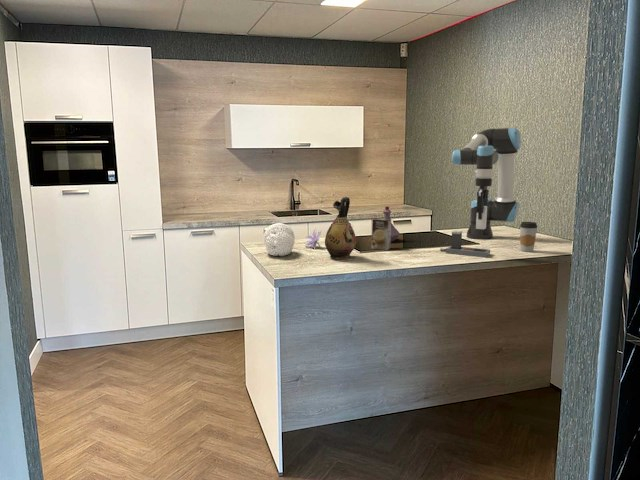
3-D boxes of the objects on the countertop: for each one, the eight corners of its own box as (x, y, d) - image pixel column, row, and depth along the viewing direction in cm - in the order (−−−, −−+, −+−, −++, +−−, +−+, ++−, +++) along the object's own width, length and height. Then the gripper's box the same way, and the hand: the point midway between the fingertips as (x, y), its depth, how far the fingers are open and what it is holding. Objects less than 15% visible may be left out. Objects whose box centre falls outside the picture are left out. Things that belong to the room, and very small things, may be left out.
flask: (405, 242, 291) (406, 207, 287) (378, 243, 287) (378, 208, 283) (394, 237, 306) (394, 204, 303) (368, 238, 302) (368, 205, 299)
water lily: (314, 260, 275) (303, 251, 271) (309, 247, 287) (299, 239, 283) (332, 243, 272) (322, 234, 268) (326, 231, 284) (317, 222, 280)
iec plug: (477, 227, 253) (479, 205, 251) (486, 228, 251) (487, 206, 249) (475, 228, 250) (477, 206, 248) (484, 229, 248) (485, 206, 246)
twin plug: (453, 251, 262) (454, 230, 260) (460, 252, 260) (461, 231, 258) (450, 252, 258) (451, 231, 256) (458, 253, 256) (459, 232, 254)
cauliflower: (256, 235, 267) (273, 212, 260) (284, 247, 274) (301, 226, 267) (258, 258, 251) (275, 234, 244) (287, 271, 258) (305, 248, 251)
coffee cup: (534, 250, 268) (536, 222, 265) (536, 253, 260) (538, 224, 257) (518, 249, 270) (519, 221, 268) (518, 252, 263) (520, 223, 260)
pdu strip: (443, 250, 267) (443, 243, 266) (490, 255, 255) (490, 248, 254) (437, 253, 260) (438, 246, 259) (485, 258, 247) (486, 251, 247)
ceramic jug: (346, 262, 242) (346, 199, 236) (319, 258, 250) (318, 197, 244) (362, 255, 256) (363, 196, 250) (336, 252, 264) (336, 195, 258)
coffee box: (370, 248, 273) (371, 219, 270) (374, 246, 278) (375, 217, 276) (387, 250, 269) (387, 220, 266) (390, 248, 275) (391, 218, 272)
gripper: (480, 176, 255) (477, 222, 259) (471, 178, 241) (468, 226, 245) (495, 177, 251) (493, 223, 255) (487, 178, 237) (484, 228, 241)
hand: (481, 225), depth 250 cm, fingers closed on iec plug, 4 cm apart
